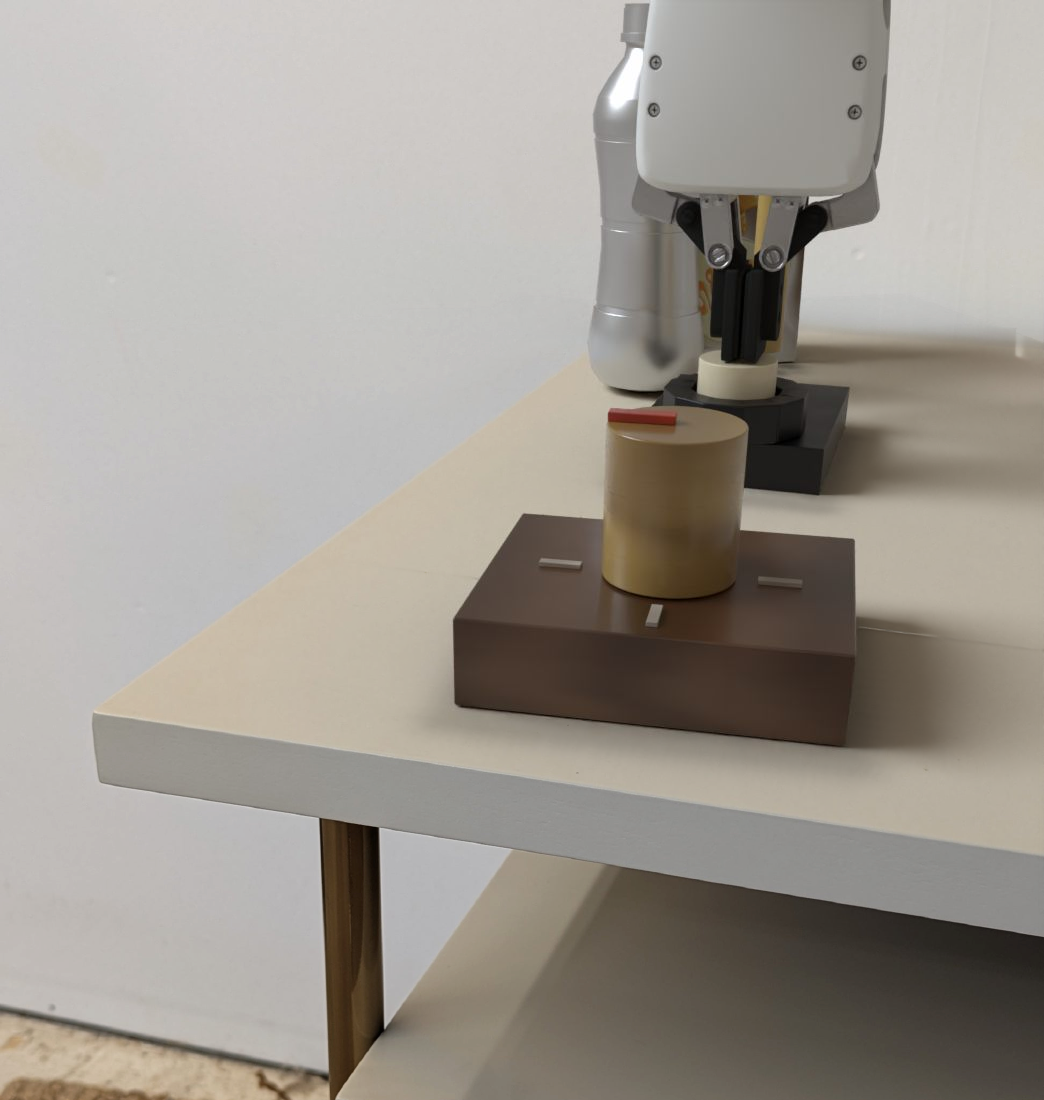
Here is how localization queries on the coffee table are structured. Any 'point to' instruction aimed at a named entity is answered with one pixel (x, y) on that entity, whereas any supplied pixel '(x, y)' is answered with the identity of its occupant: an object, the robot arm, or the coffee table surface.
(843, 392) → the black button base
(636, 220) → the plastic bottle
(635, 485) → the dimmer knob
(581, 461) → the coffee table surface
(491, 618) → the dimmer panel
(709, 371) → the button
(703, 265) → the coffee box
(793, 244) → the robot arm
